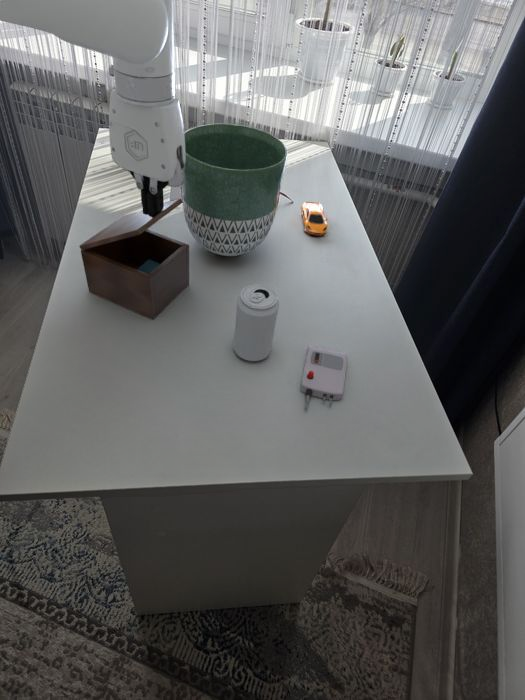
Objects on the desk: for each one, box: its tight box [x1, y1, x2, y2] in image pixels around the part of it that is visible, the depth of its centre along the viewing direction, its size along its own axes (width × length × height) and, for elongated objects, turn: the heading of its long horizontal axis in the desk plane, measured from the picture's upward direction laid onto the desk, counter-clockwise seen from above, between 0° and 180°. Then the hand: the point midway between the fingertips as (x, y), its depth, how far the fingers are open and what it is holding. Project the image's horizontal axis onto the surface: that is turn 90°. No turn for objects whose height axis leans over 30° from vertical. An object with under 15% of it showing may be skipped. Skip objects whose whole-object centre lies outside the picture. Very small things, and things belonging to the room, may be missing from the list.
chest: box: [80, 228, 190, 321], centre depth 83 cm, size 14×12×9 cm
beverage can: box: [232, 283, 280, 362], centre depth 74 cm, size 6×6×12 cm
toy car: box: [301, 201, 329, 237], centre depth 108 cm, size 6×12×3 cm, turn 2°
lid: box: [78, 197, 183, 251], centre depth 77 cm, size 15×12×1 cm
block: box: [136, 260, 160, 275], centre depth 84 cm, size 5×5×5 cm
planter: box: [180, 123, 288, 257], centre depth 91 cm, size 20×20×21 cm
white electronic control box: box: [299, 344, 348, 410], centre depth 75 cm, size 7×16×3 cm, turn 168°
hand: (153, 211), depth 73 cm, fingers closed
